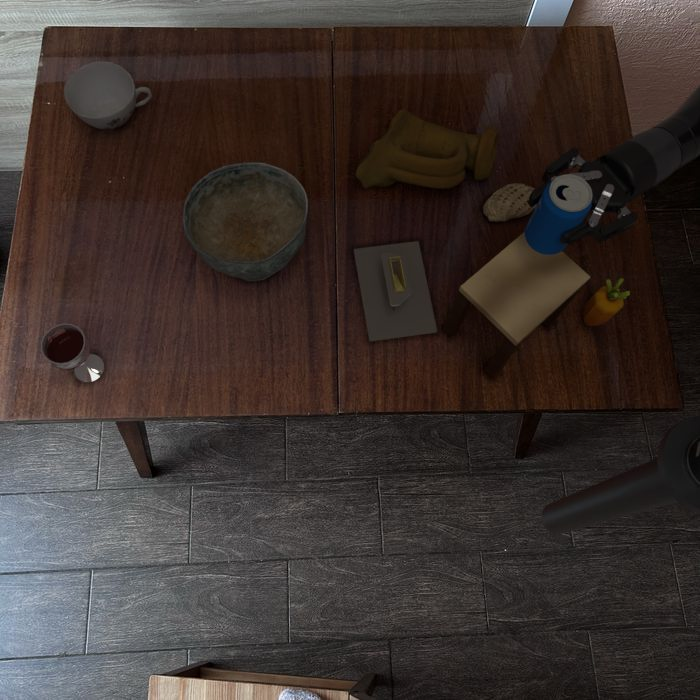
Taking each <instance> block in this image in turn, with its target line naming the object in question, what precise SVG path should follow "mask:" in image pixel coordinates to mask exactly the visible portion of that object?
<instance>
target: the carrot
mask: <svg viewBox="0 0 700 700" xmlns="http://www.w3.org/2000/svg"><path fill="white" fill-rule="evenodd" d="M624 281H625V278H623V277H622V278H619V279H618V281H617V282H616V284H615V285H614V286H612V281H611V279H610V278H607V279H606V282H605V283H606V286H601V287H599V289H598V290H596V291H595V293H594V294H593V295H592V296H591V297H590V299H589V300H588V301H587V303H586V304H585V306H584V308H583V309H584V310H583V323H584V325H586V327H587V326H588V327H590V326H591V327H598V326H601V325H603V324H605V323H607V322H608V321H609V320H610V319H612V318H613V317H614V316H615V315H616V314H617V313H618V312H619V311H620V310H621V309H622V308H623V307H624V305H625V302H624V299H625V300H626V299H627V297H628V296H630V295H631V291H630V290H626V291H622V292H621V291H620V288H619V287H620V286H621V285H622V283H623V282H624Z"/></svg>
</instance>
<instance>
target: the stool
mask: <svg viewBox="0 0 700 700" xmlns="http://www.w3.org/2000/svg"><path fill="white" fill-rule="evenodd" d="M590 279H591V276H590V275H589V274H588V273H587V272H586V271H585V270H584V269H582V268H581V267H580V266H579V265H578V264H577V263H576V262H575V261H574V260H573V259H571V258H570V257H569V256H568V255H567V254H566V253H565V252H564V250H563V251H561V252H559V253H557V254H554V255H545V254H541V253H538V252H536V251H535V250H533V249H532V248H531V247H530V246H529V245H528V243H527V241H526V239H525V231H523V232H522V233H521V234H519V236H517V237H516V238H515V239H514V240H512V242H510V243H509V244H508V245H507V246H505V248H503V249H502V250H501V251H500V252H499V253H497V254H496V255H495V256H494V257H492V259H490V260H489V261H488V262H487V263H486V264H484V265H483V266H482V267H481V268H480V269H479V270H478V271H476V273H474V274H473V275H471V276H470V277H469V278H468V279H467V280H466V281H465V282H464V283H462V284H461V285H460V286H459V288H458V290H457V293H456V296H455V298H454V301H453V303H452V305H451V307H450V310H449V312H448V315H447V316H446V320H445V322H444V325H443V327H442V329H441V331H443V332H444V333H445V335H447V336H448V337H449V339H450V338H452V337H453V336H454V335H455V334H457V333H458V332H459V330H460V328H461V326H462V324H463V321H464V320H465V317H466V316H467V314H468V311H469V309H470V307H471V305H473V306H474V307H475V308H476V309H477V310H478V311H479V312H480V313H481V314H482V315H483V316H484V317H485V318H487V319H488V321H490V323H491V324H492V325H494V326H495V328H497V329H498V331H500V332H501V333H502V334H503V335H504V336H505V338H504V339H503V340H502V342H501V344H500V345H499V346H498V348H497V350H496V351H495V352H494V353H493V355H492V357H491V358H490V360H489V361H488V363H487V365H486V366H485V367H484V368H483V373H485V374H486V375H487V376H488V377H489V378H490V380H492V379H493V378H494V377H496V376H497V375H498V374H499V373H500V372H501V371H502V369H503V368H504V367H505V365H506V364H507V363H508V361H509V360H510V359H511V357H512V356H513V355H514V353H515V352H516V351H517V349H518V348H519V347H520V345H521V344H522V343H523V341H524V340H525V339H526V338H527V337H528V336H529V335H531V333H532V332H533V331H534V330H535V329H537V328H538V327H539V326H540V325H541V324H542V325H543V326H544V327H545V328H546V329H548V328H549V327H551V326H552V325H553V324H554V323H555V322H556V321H557V319H558V318H559V317H560V316H561V314H562V313H563V312H564V311H565V310H566V308H567V307H568V306H569V304H571V302H572V301H573V300H574V299H575V297H576V296H577V295H578V293H580V291H581V290H582V289H583V288H584V286H585V285H586V284H587V282H588V281H589V280H590Z"/></svg>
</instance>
